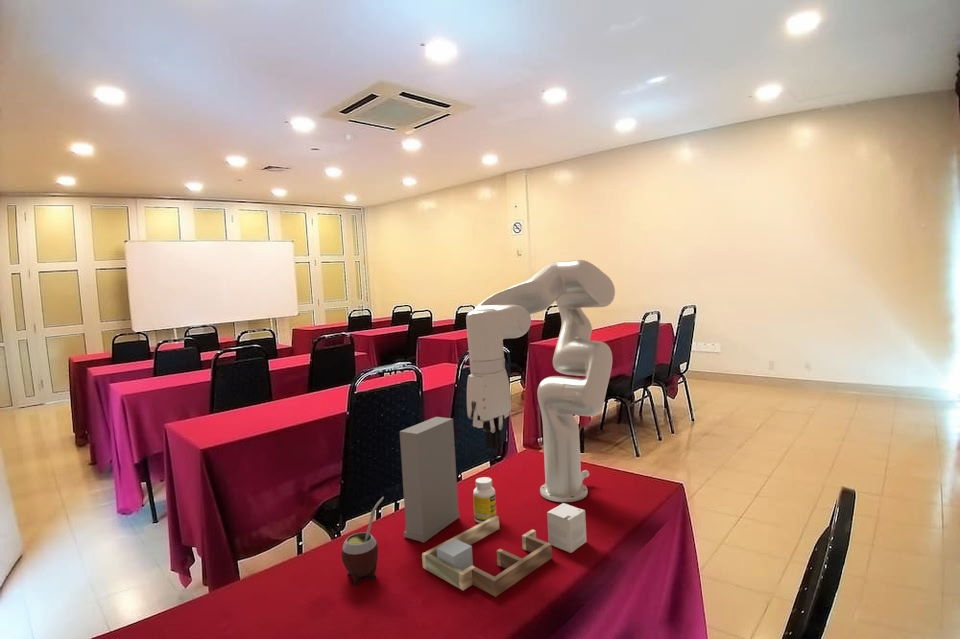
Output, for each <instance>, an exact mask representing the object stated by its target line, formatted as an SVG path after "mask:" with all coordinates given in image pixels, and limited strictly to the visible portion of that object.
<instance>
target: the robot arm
mask: <svg viewBox="0 0 960 639" xmlns="http://www.w3.org/2000/svg"><path fill="white" fill-rule="evenodd" d="M615 295H616V288H615V285H614V283H613V281H612V280H611V278H610V277H609V276H608V275H607V274H606V273H605V272H603V271H602V270H601V269H600V268H599V267H598V266H596V265H594V264H593V263H592V262H590V261H588V260H584V259H575V260H562V261H561V260H560V261H554V262H551V263H550V262H549V263H548V264H547V265H545V266H544V267H543V268H540V270H539V271H537V272H536V273H535V274H533V275H532V276H531V277H530V278H528V279H527V280H526V281H524V282H520V283H518V284H515V285H513V286H511V287H509V288H506V289H503V290H501V291H498V292H496V293H494V294H492V295H490V296H488V297H487V298H485V299H484V300H483V301H481V302H480V303H479V304H478V305H476V307H475V308H474V309H473V310H471V311H468V313H467V314H466V317H465V320H466V321H465V322H466V336H467V346H468V356H469V370H470V374H469V375H467V382H466V412H467V413H466V415H467V418H468V419H469V420H472V427H473V428H475V429H476V428H477V429H482V430H483V432H485V446H486V448H487V449H491V450H495V451H497V450H499V449H501V448H503V445H502V444H503V443H502V432H501V431H502V429H503V423H504V421H505V419H506V418H508V417H509V416H510V414H511V413H510V411H511V410H512V395H511V394H512V393H511V392H512V391H511V386H510V380H509V377H508V376H509V375H508V373H507V370H506V365H505V364H506V363H505V361H506V358H505V352H504V341H503V340H505V339H507V340H508V339H518V338H520V337H523V336H524V335H526V334H527V333H528V332H529V330H530V329H531V328H530V327H531V324H532V317H531V315H533V314H537V313H540V312H543V311H545V310H547V309H548V308H549V307H550V306H551V305H553V303H554V302H556V305H557V308H558V311H559V314H560V319H561V320H560V321H561V326H560V331H559V335H558V338H557V342H556V345H555V348H554V353H553V357H552V366H553V368H554V370H555V371H556V372H558V373H560V374H561V375H560V376H559V375H552V376H548V377H545V378H544V379H542V380H541V381H540V383H539V384H538V387H537V391H536V392H537V402H538V405H539V409H540V415H541V420H542V434H543V435H542V436H543V438H542V439H543V440H542V441H543V457H544V458H543V460H544V477H545V479H544V480H545V483H544V484H542V485H541V486H540V488H539V493H540V495H541V496H542V497H543V498H544V499H545V500H549V501H552V502H557V503H574V502H577V501H581V500H583V499H584V498H586V497H587V496H588V488H587V486H586V485H585V484H583V481H584V480H585V479H587V478H588V477H589V476H590V471H588V470H587V469H585V470H581V467H582V465H581V447H580V446H581V443H580V442H581V441H580V427H579V424H578V422H577V420H576V417H575V416H581V417H595V416H597V415H599V413H601V411H602V409H603V407H604V403H605V399H606V395H607V392H608V391H607V389H608V385H609V382H610V378H611V375H612V374H611V373H612V368H613V367H612V366H613V352H612V350H611V348H610V346H609V345H608V344H607V343H606V342H603V341H601V340H600V341H599V340H591V336H592V331H593V327H592V323H591V321H590V320H589V318H588V316H587V315H586V314H585V312H584V311H583V309H582V308H584V309H585V308H605V307H608V306H610V305H611V304H612V303H613V301H614V299H615ZM562 374H563V375H567V376H562ZM572 376H577V377H572ZM578 376H580V377H578ZM574 415H575V416H574Z"/></svg>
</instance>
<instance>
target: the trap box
mask: <svg viewBox="0 0 960 639" xmlns="http://www.w3.org/2000/svg"><path fill="white" fill-rule="evenodd" d="M498 530H500V517H499V516H498V515H497V514H496V515H495V516H493V517H491V518H489V519H487V520H485V521H484V522H482V523H478V524H476V525H474V526H472V527H471V528H469V529H466V530H464V531H463V532H461V533H459V534H457V535H455V536H453V537H452V538H451V537H450V539H448V540H445V541H444V542H442V543H440V544H437V545H436V546H434V547H432V548H430V549H428V550H426V551H425V552H422V553H421V559H422V568H423V569H424V570H425V571H427V572H430V573H432V575H435V576H437V577H438V578H440V579H443V580H444V581H445V582H447V583H449V584H450V585H452V586H454V587H456V588H458V589H460V590H461V591H465V590H466V589H468V588H469V587H471V586H474V587H477V588H478V589H480V590H482V591H483V592H485V593H488V594H489V595H491V596H493V597H498V596H499V595H501V594H502V593H503V592H505V591H506V590H508V589H509V588H511V587H512V586H513V585H515V584H516V583H519V581H521V580H523V578H526V576H528V575H529V574H531V573H532V572H534V571H535V570H537V569H538V568H540V567H541V566H542V565H544V564H545V563H547V562H548V561H550V560H551V559H552V558H553V555H552V545H551V544H550V543H548V542H547V541H544V540H542V539H540V538H537V531H536V530H535V529H530V530H529V531H527V532H526V533H525V532H524V534H522V535H521V540H522V541H521V542H522V543H521V544H522V550H524V551H526V552H528V553H529V554H527V555H526V556H524V557H522V558H521V557H519V556H518V555H515V554H513V553H511V552H509V551H506V550H504V549H501V548H498V549H496V565H497V566H499V567H501V568H503V569H504V570H502V571H501V572H499V573H498V574H497V575H495V576H494V575H492V574H490V573H488V572H486V571H484V570H482V569H480V568H478V567H476V566H475V565H473V566H470V567H468V568H467V569H465V570H463V571H462V570H460V569H458V568H456V567H454V566H452V565H450V564H448V563H446V562H445V561H443V560H441V559H439V558H437V548H438V547H440V546H441V545H443V544H445V543H447V542H449V541H451V540H453V539H457V540H460V541H462V542H464V543H466V544H468V545H470V546H472V545H473V544H474V543H475V544H476V543H477V542H479V541H480V540H482V539H483V538H487V536H489V535H491V534H493V533H495V532H496V531H498Z"/></svg>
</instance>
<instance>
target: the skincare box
mask: <svg viewBox="0 0 960 639" xmlns="http://www.w3.org/2000/svg"><path fill="white" fill-rule="evenodd" d="M546 517H547V535H548V536H547V538H548V540H547V541H548V542H547V543H550V544H551V547H552V546H553V547H555V548H557V549H560V550H562V551H566V552H568V553H570V554H571V553H573V552H575V551H576V550H577V549H578V548H580V547H582V546H583V545H584V544H586V543H587V522H586V521H587V520H586V510H585V509H582V508H578V507H576V506H573V505H570V504H568V503H566V502H561V504H559V505H558V506H556V507H554V508H552V509H550V510H549V511H547V512H546Z"/></svg>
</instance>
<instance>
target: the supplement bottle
mask: <svg viewBox="0 0 960 639" xmlns="http://www.w3.org/2000/svg"><path fill="white" fill-rule="evenodd" d="M472 495H473V519H474V521H475V523H476V522H477V523H478V524H480V523H482V522H484V521H485V520H487V519H489V518H491V517H493V516H495V515H497V504H496V503H497V502H496V501H497V499H496V489H495V488H494V487H493V479H492V478H491V477H489V476H488V477H487V476H483V477H478V478H476V479H475V488H474V489H473V492H472Z"/></svg>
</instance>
